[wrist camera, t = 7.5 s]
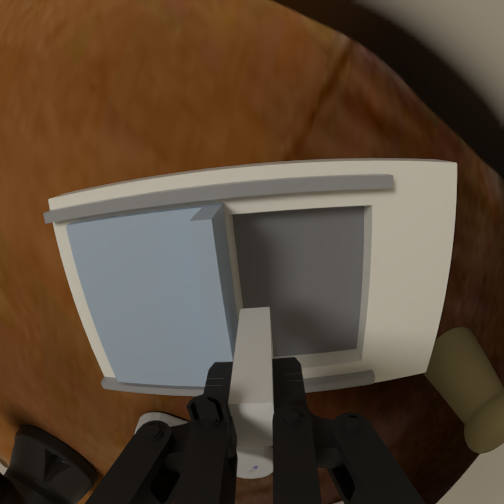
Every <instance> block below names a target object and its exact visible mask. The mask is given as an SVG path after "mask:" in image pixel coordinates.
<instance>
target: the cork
mask: <svg viewBox="0 0 504 504" xmlns="http://www.w3.org/2000/svg"><path fill="white" fill-rule="evenodd" d="M424 375H425V376H426V378H427V379H428V380H429V381H430V382H431V384H432V385H433V386H434V387H435V388H436V390H437V391H438V392H439V393H440V395H441V396H442V397H443V398H444V399H445V401H446V402H447V403H448V404H449V406H450V407H451V408H452V409H453V411H454V412H455V413H456V414H457V416H458V417H459V418H460V419H461V421H462V422H463V423H464V424H465V427H464V436H465V440H466V443H467V445H468V447H469V448H470V449H471V450H472V451H474V452H476V453H479V454H482V453H486V452H489V451H492V450H494V449H495V448H497V447H499V446H500V445H501V444H503V443H504V388H503V386H502V384H501V382H500V380H499V378H498V376H497V374H496V373H495V371H494V369H493V367H492V365H491V363H490V362H489V360H488V358H487V356H486V355H485V353H484V351H483V349H482V348H481V346H480V344H479V343H478V341H477V339H476V338H475V336H474V334H473V333H472V332H471V331H470V330H469V329H468V328H465V327H458V328H453V329H451V330H449V331H447V332H445V333H444V334H442V335H441V336H440V337H438V338H437V339H436V340H435V343H434V346H433V350H432V354H431V357H430V361H429V364H428V367H427V371H426V372H424Z"/></svg>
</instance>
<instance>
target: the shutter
mask: <svg viewBox="0 0 504 504" xmlns="http://www.w3.org/2000/svg"><path fill="white" fill-rule="evenodd" d="M66 229H67V234H68V238H69V242H70V246H71V250H72V254H73V258H74V262H75V265H76V269H77V273H78V276H79V279H80V283H81V286H82V289H83V293H84V296H85V299H86V302H87V305H88V308H89V311H90V314H91V317H92V319H93V322H94V325H95V328H96V330H97V333H98V336H99V338H100V341H101V344H102V346H103V349H104V351H105V354H106V356H107V358H108V361H109V363H110V365H111V368H112V370H113V372H114V375H115V377H116V379H117V381H118V382H127V383H139V384H152V385H170V386H201V387H205V383H206V380H207V374H208V370H209V368H210V367H211V366H212V365H213V364H214V362H233V361H234V353H235V345H236V337H237V330H238V318H237V310H236V303H235V296H234V288H233V280H232V273H231V265H230V257H229V249H228V241H227V233H226V225H225V216H224V208H223V203H217V204H207V205H198V206H189V207H180V208H171V209H163V210H155V211H147V212H139V213H132V214H125V215H117V216H111V217H104V218H97V219H91V220H84V221H78V222H72V223H70V224H68V225H66Z"/></svg>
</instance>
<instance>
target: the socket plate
mask: <svg viewBox="0 0 504 504" xmlns="http://www.w3.org/2000/svg"><path fill="white" fill-rule="evenodd" d="M456 194H457V163H455V162H449V161H443V160H435V159H405V158H351V159H319V160H299V161H283V162H269V163H257V164H246V165H236V166H226V167H217V168H209V169H200V170H193V171H185V172H178V173H171V174H164V175H158V176H151V177H145V178H139V179H133V180H128V181H122V182H117V183H112V184H106V185H101V186H96V187H92V188H87V189H82V190H77V191H73V192H69V193H65V194H62V195H59V196H56V197H53V198H51V199H48V201H49V207H50V211H47V212H45V213H43V214H44V219H45V223H51V222H53V226H54V230H55V235H56V239H57V243H58V247H59V251H60V255H61V258H62V262H63V266H64V269H65V273H66V276H67V279H68V283H69V286H70V289H71V292H72V295H73V298H74V301H75V304H76V307H77V310H78V313H79V316H80V318H81V321H82V324H83V326H84V329H85V332H86V334H87V337H88V339H89V342H90V344H91V347H92V349H93V351H94V354H95V356H96V358H97V361H98V363H99V365H100V368H101V370H102V372H103V374H104V376H105V377H104V378H103V380H102V382H101V384H102V386H103V388H104V389H110V390H118V391H127V392H137V393H148V394H161V395H179V396H199V395H202V394H203V392H204V388H205V387H201V386H170V385H152V384H139V383H127V382H118V381H117V379H116V377H115V375H114V372H113V370H112V368H111V365H110V363H109V361H108V358H107V356H106V354H105V351H104V349H103V346H102V344H101V341H100V338H99V336H98V333H97V330H96V328H95V325H94V322H93V319H92V317H91V314H90V311H89V308H88V305H87V302H86V299H85V296H84V293H83V289H82V286H81V283H80V279H79V276H78V273H77V269H76V265H75V262H74V258H73V254H72V250H71V246H70V242H69V238H68V234H67V229H66V225H68V224H70V223H72V222H78V221H84V220H91V219H97V218H104V217H111V216H117V215H125V214H132V213H139V212H147V211H155V210H163V209H171V208H180V207H189V206H198V205H207V204H217V203H223V208H224V216H225V225H226V233H227V241H228V249H229V257H230V265H231V273H232V280H233V288H234V296H235V303H236V310H237V318H238V322H239V314H240V309H245V308H260V307H270V318H271V331H272V343H273V359H275V358H288V357H295V358H296V359H297V360H298V361H299V362H300V363H301V368H302V374H303V381H304V388H305V393H306V392H316V391H325V390H334V389H342V388H349V387H356V386H362V385H368V384H374V383H376V382H381V381H387V380H392V379H397V378H402V377H407V376H411V375H416V374H420V373H424V372H426V371H427V367H428V364H429V361H430V357H431V354H432V350H433V346H434V343H435V339H436V335H437V331H438V327H439V322H440V318H441V313H442V309H443V304H444V299H445V293H446V288H447V282H448V276H449V269H450V262H451V255H452V247H453V238H454V227H455V214H456Z"/></svg>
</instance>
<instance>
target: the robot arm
mask: <svg viewBox="0 0 504 504" xmlns="http://www.w3.org/2000/svg"><path fill="white" fill-rule="evenodd" d="M187 409H188V412H189V414H190V417H191V420H192V421H190V422H188V423H185V424H181V425H176V426H171V427H170V426H169V425H168V424H167V423H165V422H163V421H159V420H153V421H148V422H146V423H144V424H143V425H142V426H141V427H140V428H139V429H138V430H137V432H136V433H135V434H134V436H133V437H132V439H131V440H130V441H129V443H128V444H127V446H126V447H125V449H124V450H123V451H122V453H121V454H120V456H119V457H118V458H117V460H116V461H115V463H114V464H113V465H112V467H111V468H110V470H109V471H108V472H107V474H106V475H105V476H104V478H103V479H102V481H101V482H100V483H99V485H98V486H97V488H96V489H95V490H94V492H93V493H92V495H91V496H90V497H89V499H88V500H87V501H86V503H85V504H172V502H173V500H174V498H175V500H174V504H235V491H236V477H237V464H238V456H237V452H236V448H237V444H238V447H256V446H273V504H322V503H321V494H320V486H319V478H318V469H317V467H320V468H327V469H328V472H329V474H330V476H331V478H332V480H333V482H334V484H335V486H336V488H337V490H338V492H339V494H340V496H341V498H342V500H343V502H344V504H425V502H424V501H423V499H422V498H421V497H420V495H419V494H418V492H417V491H416V489H415V488H414V486H413V485H412V483H411V482H410V480H409V479H408V477H407V476H406V475H405V473H404V472H403V470H402V469H401V467H400V466H399V464H398V463H397V461H396V460H395V458H394V457H393V456H392V454H391V453H390V451H389V450H388V448H387V447H386V445H385V444H384V442H383V441H382V439H381V438H380V437H379V435H378V434H377V432H376V431H375V429H374V428H373V426H372V425H371V423H370V422H369V420H368V419H367V418H366V417H365V416H363V415H361V414H358V413H351V412H350V413H345V414H342V415H340V416H338V417H337V418H336V419H335V420H332V419H324V418H320V417H317V416H315V415H314V414H313V413H311V412H310V410H309V409H308V406H307V401H306V394H305V388H304V381H303V374H302V368H301V363H300V362H299V361H298V360H297V359H296V358H295V357H288V358H275V359H273V343H272V331H271V318H270V307H260V308H245V309H240V314H239V322H238V330H237V337H236V345H235V353H234V361H233V362H214V364H213V365H212V366H211V367H210V368H209V370H208V374H207V380H206V383H205V388H204V392H203V394H202V395H199V396H196V397H194V398H193V399H192V400H191V401H189V403H188V405H187ZM96 480H97V473H96V471H95V470H94V469H93V467H92V466H91V465H90V464H89V463H88V462H87V461H86V460H85V459H84V458H82V457H81V456H80V455H79V454H78V453H76V452H75V451H74V450H72V449H71V448H70V447H68V446H67V445H65V444H64V443H62V442H61V441H59V440H58V439H56V438H55V437H53V436H51V435H50V434H48V433H46V432H44V431H42V430H40V429H38V428H35V427H33V426H29V425H22V426H21V427H20V429H19V430H18V432H17V433H16V435H15V444H14V447H13V451H12V456H11V461H10V465H9V467H8V469H7V471H6V472H5V474H4V475H2V474H1V473H0V504H77V503H78V502H79V501H80V500H81V499H82V498H83V497H84V496H85V494H86V493H87V492H88V491H89V490H91V489H92V488H93V487H94V484H95V482H96Z"/></svg>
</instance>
